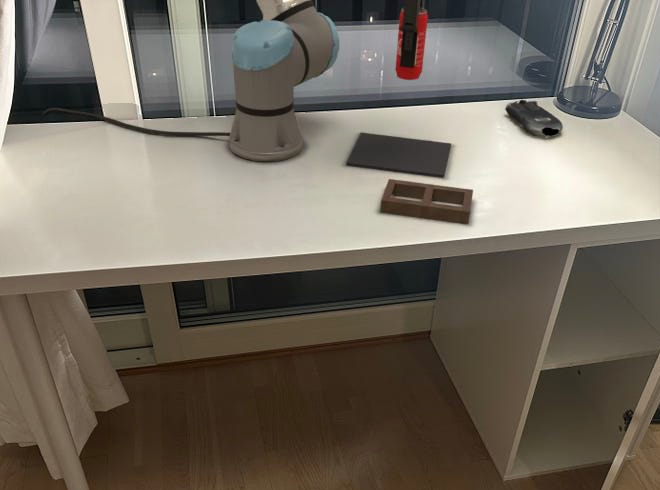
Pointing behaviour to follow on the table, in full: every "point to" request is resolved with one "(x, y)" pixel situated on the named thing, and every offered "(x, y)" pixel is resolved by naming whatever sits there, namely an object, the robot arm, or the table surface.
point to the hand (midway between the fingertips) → (409, 61)
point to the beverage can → (415, 72)
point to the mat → (400, 154)
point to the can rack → (427, 201)
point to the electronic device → (534, 118)
